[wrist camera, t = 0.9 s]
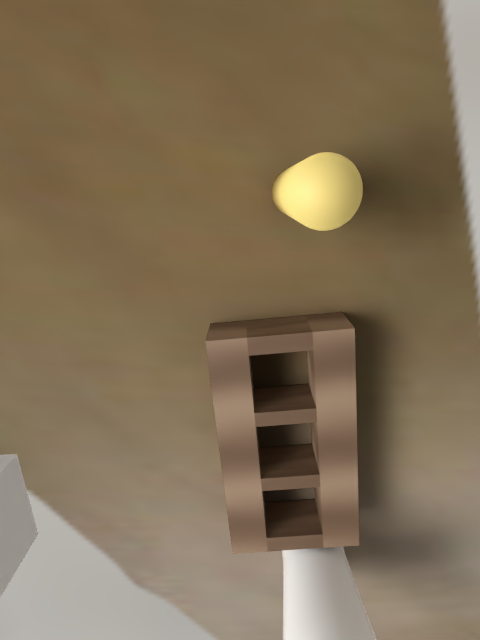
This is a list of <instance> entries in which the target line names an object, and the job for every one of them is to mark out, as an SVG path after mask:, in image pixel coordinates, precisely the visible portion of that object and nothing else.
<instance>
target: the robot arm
mask: <svg viewBox="0 0 480 640" xmlns="http://www.w3.org/2000/svg"><path fill="white" fill-rule="evenodd" d="M37 535H38V532H37V528H36V525H35V521H34V517H33V514H32V509H31V506H30V502H29V498H28V494H27V490H26V487H25V483H24V479H23V475H22V472H21V468H20V464H19V460H18V456H17V454H9V455H0V597H1V595H2V593H3V592H4V590H5V588H6V587H7V585H8V583H9V582H10V580H11V578H12V577H13V575H14V573H15V572H16V570H17V568H18V567H19V565H20V563H21V562H22V560H23V558H24V557H25V555H26V553H27V552H28V550H29V548H30V547H31V545H32V543H33V542H34V540H35V538H36V537H37Z"/></svg>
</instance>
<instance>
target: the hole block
mask: <svg viewBox="0 0 480 640" xmlns="http://www.w3.org/2000/svg"><path fill="white" fill-rule="evenodd" d="M205 342H206V349H207V357H208V365H209V373H210V381H211V388H212V396H213V404H214V412H215V419H216V427H217V435H218V443H219V451H220V458H221V466H222V474H223V482H224V490H225V497H226V505H227V513H228V521H229V528H230V536H231V544H232V552H233V554H236V553H251V552H267V551H282V550H298V549H313V548H328V547H344V546H359V504H358V456H357V408H356V360H355V328H354V327H353V325H352V324H351V323H350V322H349V320H348V319H347V318H346V316H345V315H344V314H343V313H342V312H336V313H325V314H314V315H303V316H291V317H280V318H269V319H257V320H246V321H235V322H224V323H212V324H210V327H209V330H208V334H207V338H206V341H205ZM299 351H307V364H308V382H309V384H300V385H288V386H276V387H264V388H253V378H252V368H251V358H250V356H252V355H263V354H275V353H287V352H299ZM301 423H311V435H312V444H305V445H292V446H278V447H265V448H259V440H258V430H257V427H262V426H275V425H288V424H301ZM300 488H314V489H315V499H307V500H293V501H278V502H264V491H272V490H286V489H300Z"/></svg>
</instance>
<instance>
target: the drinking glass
mask: <svg viewBox="0 0 480 640" xmlns="http://www.w3.org/2000/svg"><path fill="white" fill-rule="evenodd" d="M282 555H283V640H377V638H376V635H375V633H374V630H373V627H372V625H371V622H370V619H369V617H368V614H367V611H366V609H365V606H364V603H363V601H362V598H361V595H360V593H359V590H358V587H357V585H356V582H355V579H354V576H353V574H352V571H351V568H350V565H349V563H348V560H347V557H346V554H345V550H344V547H328V548H313V549H298V550H282Z"/></svg>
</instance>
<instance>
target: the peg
mask: <svg viewBox="0 0 480 640" xmlns="http://www.w3.org/2000/svg"><path fill="white" fill-rule="evenodd" d="M362 195H363V184H362V179H361V176H360V173H359V171H358V169H357V168H356V166H355V165H354V164H353V163H352V162H351V161H350V160H349V159H347V158H346V157H344V156H342V155H340V154H336V153H331V152H323V153H318V154H315V155H312V156H310V157H308V158H306V159H305V160H303V161H301V162H299V163H297V164H296V165H294V166H292V167H290V168H288V169H287V170H285V171H283V172H282V173H281V174H279V176H278V177H277V178H276V180H275V182H274V184H273V187H272V198H273V201H274V203H275V205H276V207H277V208H278V209H279V210H280V211H282V212H283V213H285V214H286V215H288V216H290V217H291V218H293V219H295V220H296V221H298V222H300V223H301V224H303V225H305V226H307V227H309V228H311V229H314V230H321V231H325V230H332V229H335V228H338V227H340V226H342V225H343V224H345V223H346V222H348V221H349V220H350V219H351V218H352V217H353V215H354V214H355V213H356V211H357V210H358V208H359V205H360V203H361V200H362Z"/></svg>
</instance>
